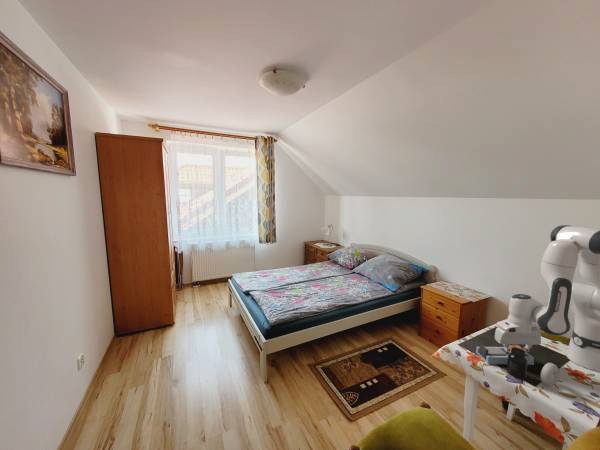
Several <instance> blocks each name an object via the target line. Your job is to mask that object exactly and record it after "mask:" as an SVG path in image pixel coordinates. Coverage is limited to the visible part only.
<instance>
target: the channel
mask: <svg viewBox="0 0 600 450" xmlns="http://www.w3.org/2000/svg"><path fill="white" fill-rule="evenodd" d="M484 347H485V348H500V349H501V350H502V351H504V352H505V353H506V356H486V359H485V358H484V357H483V356H482V355H480V354H479V346H476V348H475V349H476V350H475V354H477V355H478V356H479V357H480V358H481V359H482V360H483V361H484V362H486V363H487V365H507V361H508V352H506V351H505V350H504V346H484ZM507 347H508V348H509V346H507ZM525 357H526V359H527V361H528V363H527V366H528V365H531V366H532V365H533V366H534V365H535V363H534V361H535V357H534V356H532V355H531V354H529V352H525Z"/></svg>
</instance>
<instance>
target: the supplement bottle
mask: <svg viewBox="0 0 600 450" xmlns="http://www.w3.org/2000/svg"><path fill="white" fill-rule="evenodd" d="M522 349H523V348H522ZM522 349H519V348H515V347H513V348H512V349H511V352H510V353H509V354H508V361H507V364H506V372H507V374H509V375H510V376H511V377H514V378H517V379H520V380H525V379H526V378H527V371H528V365H527V363H528V361H527V359H526V357H525V351H523V350H522Z"/></svg>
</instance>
